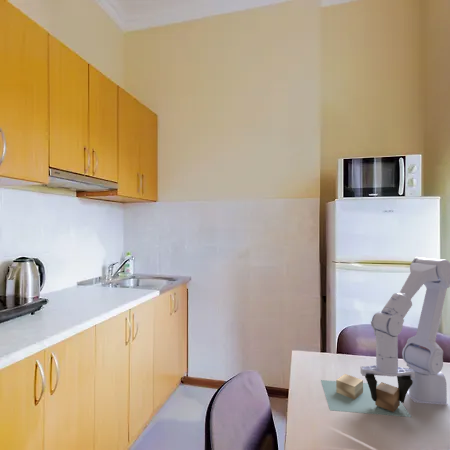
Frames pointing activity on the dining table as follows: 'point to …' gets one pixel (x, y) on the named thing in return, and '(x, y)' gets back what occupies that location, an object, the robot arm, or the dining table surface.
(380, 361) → the robot arm
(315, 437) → the dining table surface
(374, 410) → the mat
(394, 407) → the walnut cube
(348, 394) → the maple block
